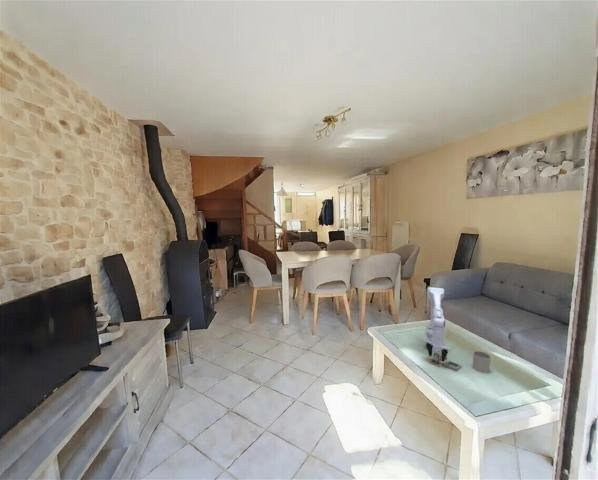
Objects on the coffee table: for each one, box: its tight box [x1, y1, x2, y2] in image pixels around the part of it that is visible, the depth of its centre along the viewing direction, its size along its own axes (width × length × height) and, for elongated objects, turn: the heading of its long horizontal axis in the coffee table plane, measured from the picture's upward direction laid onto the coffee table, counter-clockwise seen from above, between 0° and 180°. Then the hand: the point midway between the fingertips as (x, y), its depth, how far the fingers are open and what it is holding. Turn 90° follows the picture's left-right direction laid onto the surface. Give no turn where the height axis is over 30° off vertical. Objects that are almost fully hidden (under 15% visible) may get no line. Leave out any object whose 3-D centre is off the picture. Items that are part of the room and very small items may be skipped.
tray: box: [427, 357, 448, 368], centre depth 163 cm, size 10×7×2 cm
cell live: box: [432, 352, 441, 365], centre depth 162 cm, size 3×3×6 cm
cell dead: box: [440, 349, 448, 361], centre depth 169 cm, size 3×3×6 cm
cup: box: [472, 350, 491, 374], centre depth 157 cm, size 8×8×10 cm
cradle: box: [443, 360, 464, 372], centre depth 159 cm, size 10×7×3 cm
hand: (436, 358), depth 162 cm, fingers open, 7 cm apart
